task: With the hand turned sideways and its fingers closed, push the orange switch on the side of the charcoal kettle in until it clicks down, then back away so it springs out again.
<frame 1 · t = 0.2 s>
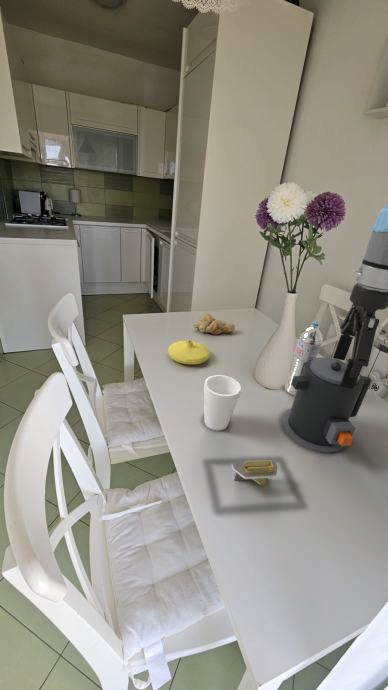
hand: (342, 371, 74), 21 cm above the table, tool pointing down, fingers open, 13 cm apart
water bottle: (294, 391, 102), on the table
ginger root: (211, 331, 138), on the table
foam cup: (215, 424, 84), on the table
yellow knobbed round disc: (188, 358, 114), on the table
kettle: (312, 431, 85), on the table
platform: (251, 485, 67), on the table
kettle switch: (344, 438, 72), point 8 cm above the table, slide at 0.1 cm
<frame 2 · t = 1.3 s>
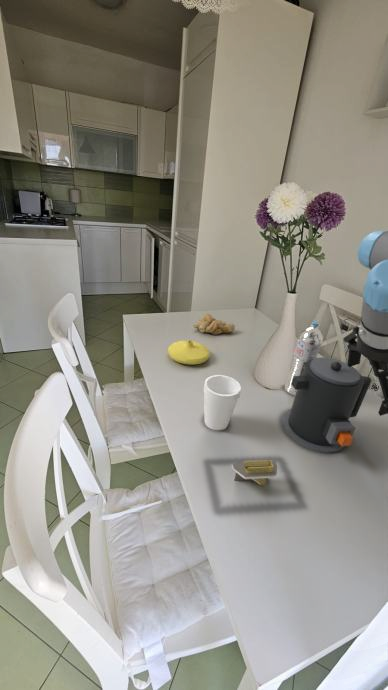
hand: (368, 387, 72), 19 cm above the table, tool tilted 35°, fingers open, 13 cm apart
nothing on the table moved.
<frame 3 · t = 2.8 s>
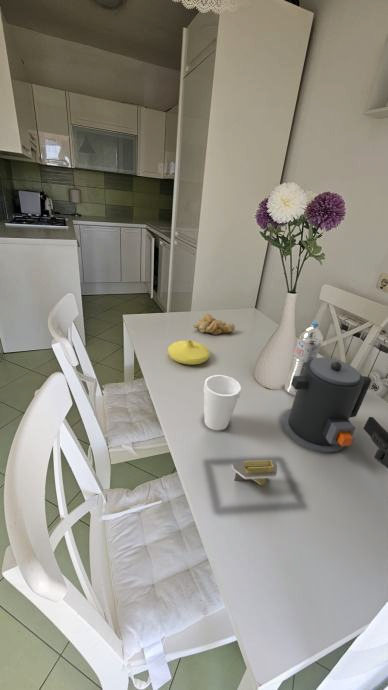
nothing on the table moved.
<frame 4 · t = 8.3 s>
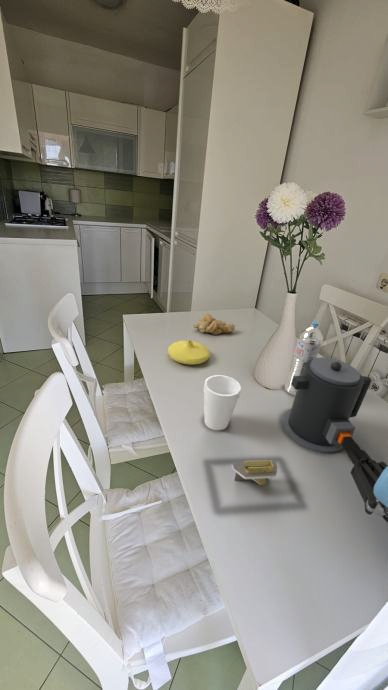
hand: (346, 441, 71), 8 cm above the table, tool horizontal, fingers closed
kettle switch: (343, 436, 72), point 8 cm above the table, slide at -0.6 cm, touching gripper
everything else where it was.
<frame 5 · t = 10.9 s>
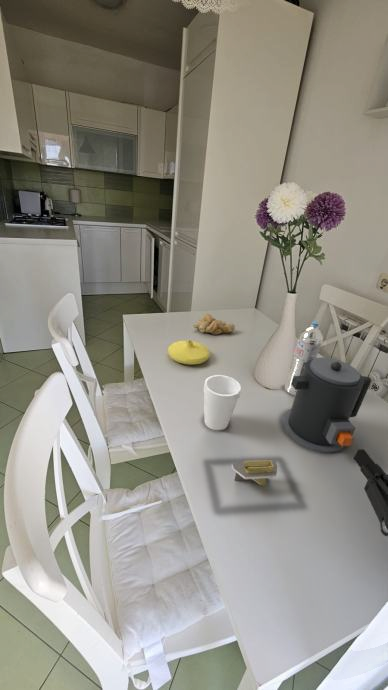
hand: (358, 454, 67), 8 cm above the table, tool horizontal, fingers closed
kettle switch: (344, 438, 72), point 8 cm above the table, slide at 0.1 cm
everything else where it was.
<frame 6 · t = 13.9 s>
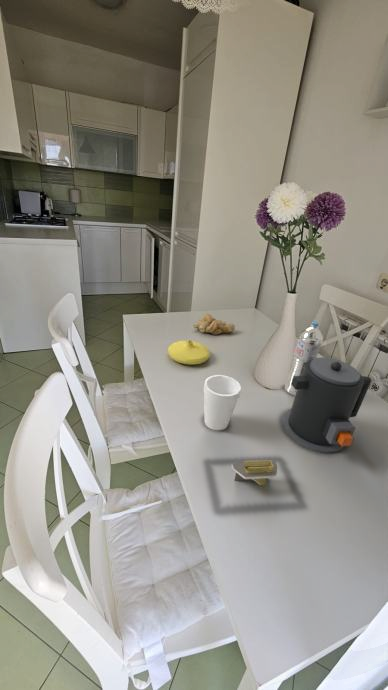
nothing on the table moved.
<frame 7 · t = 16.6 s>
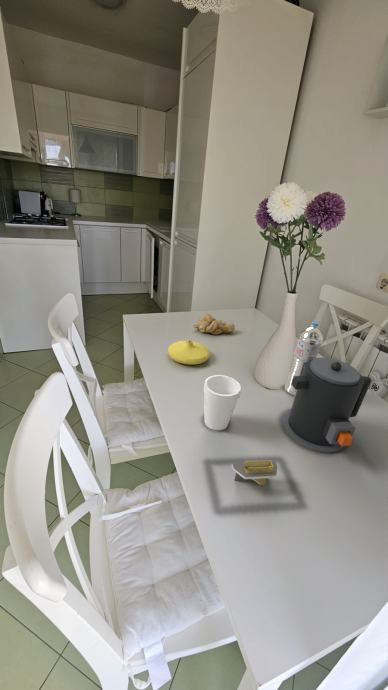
nothing on the table moved.
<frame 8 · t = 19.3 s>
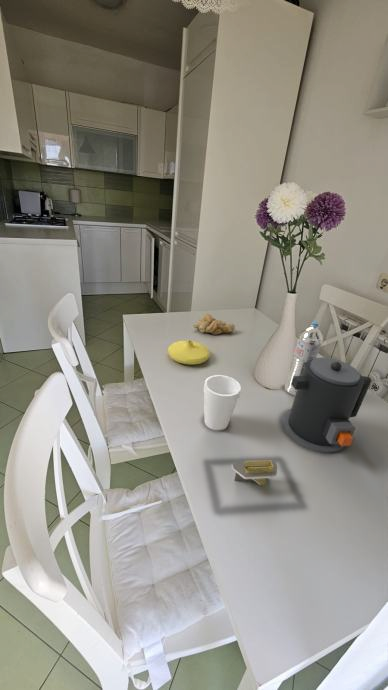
nothing on the table moved.
at the end: kettle switch pushed in 1.7 cm at the most during the clip, back to where it started at the end; kettle switch slide at 0.1 cm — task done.
